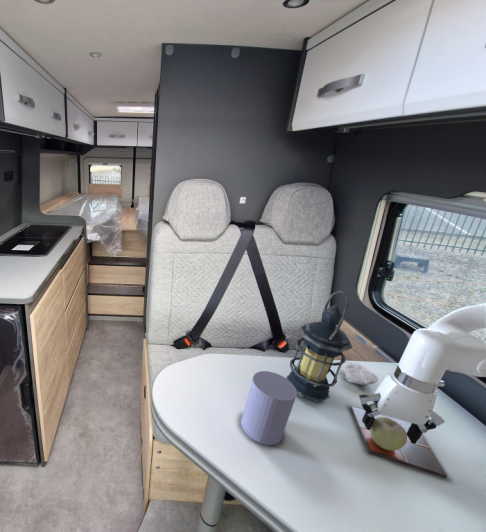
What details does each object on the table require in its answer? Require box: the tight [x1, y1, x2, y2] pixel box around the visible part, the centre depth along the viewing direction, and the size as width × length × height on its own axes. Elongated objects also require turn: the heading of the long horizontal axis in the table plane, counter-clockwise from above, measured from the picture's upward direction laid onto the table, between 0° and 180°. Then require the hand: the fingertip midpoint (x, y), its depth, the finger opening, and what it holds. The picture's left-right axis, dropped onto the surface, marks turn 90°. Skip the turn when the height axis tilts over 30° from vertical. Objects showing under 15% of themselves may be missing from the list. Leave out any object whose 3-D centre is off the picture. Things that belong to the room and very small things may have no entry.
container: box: [240, 370, 298, 446], centre depth 80 cm, size 10×10×15 cm
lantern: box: [286, 290, 353, 403], centre depth 92 cm, size 14×13×35 cm
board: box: [350, 405, 448, 479], centre depth 83 cm, size 16×16×1 cm
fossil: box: [341, 362, 379, 386], centre depth 105 cm, size 9×6×10 cm
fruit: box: [370, 416, 407, 451], centre depth 79 cm, size 8×7×8 cm
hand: (387, 432), depth 79 cm, fingers open, 9 cm apart
